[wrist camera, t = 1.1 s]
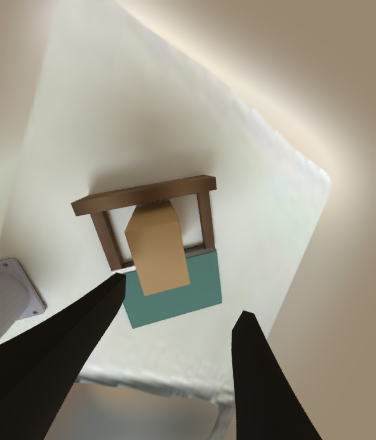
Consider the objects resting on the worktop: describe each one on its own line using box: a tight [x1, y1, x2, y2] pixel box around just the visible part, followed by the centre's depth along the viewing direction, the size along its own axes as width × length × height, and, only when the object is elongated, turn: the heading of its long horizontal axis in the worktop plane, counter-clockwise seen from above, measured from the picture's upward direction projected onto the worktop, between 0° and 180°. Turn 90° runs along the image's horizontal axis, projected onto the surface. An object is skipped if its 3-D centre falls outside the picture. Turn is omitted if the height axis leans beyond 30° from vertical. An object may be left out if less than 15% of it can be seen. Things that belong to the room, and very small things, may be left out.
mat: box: [121, 250, 222, 329], centre depth 24 cm, size 14×10×1 cm
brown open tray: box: [71, 175, 217, 274], centre depth 19 cm, size 13×10×4 cm
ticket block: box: [125, 200, 190, 296], centre depth 17 cm, size 4×6×8 cm, turn 9°
